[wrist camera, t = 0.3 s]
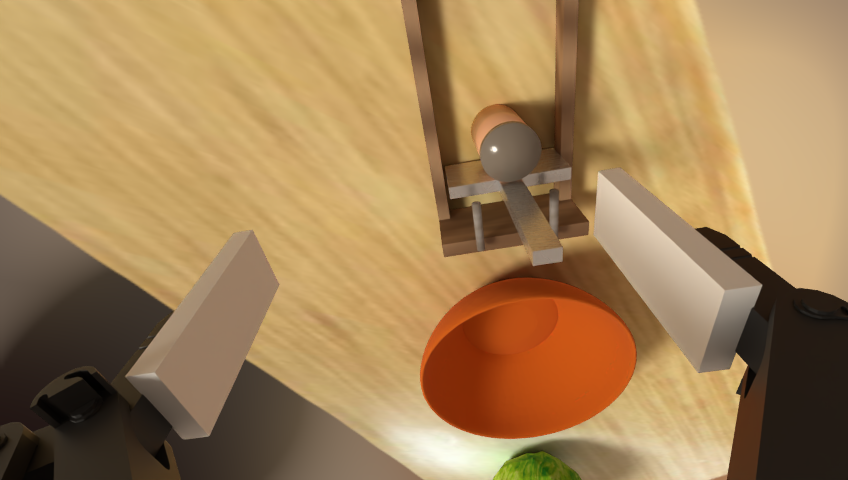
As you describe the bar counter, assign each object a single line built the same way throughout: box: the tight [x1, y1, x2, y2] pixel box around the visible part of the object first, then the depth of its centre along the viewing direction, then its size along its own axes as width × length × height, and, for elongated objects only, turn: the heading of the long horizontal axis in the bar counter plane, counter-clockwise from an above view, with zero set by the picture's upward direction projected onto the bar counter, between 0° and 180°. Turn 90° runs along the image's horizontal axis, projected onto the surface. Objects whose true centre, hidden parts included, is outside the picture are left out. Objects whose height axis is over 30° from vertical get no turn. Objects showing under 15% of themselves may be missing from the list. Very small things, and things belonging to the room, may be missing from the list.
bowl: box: [420, 278, 637, 439], centre depth 49 cm, size 25×25×10 cm
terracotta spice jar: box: [471, 104, 541, 182], centre depth 36 cm, size 5×5×7 cm
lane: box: [401, 0, 589, 257], centre depth 34 cm, size 25×14×8 cm, turn 10°
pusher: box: [445, 148, 571, 266], centre depth 33 cm, size 1×11×18 cm, turn 100°
